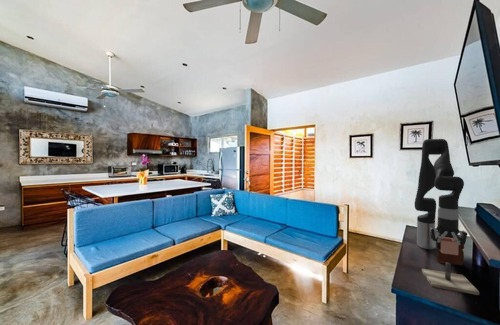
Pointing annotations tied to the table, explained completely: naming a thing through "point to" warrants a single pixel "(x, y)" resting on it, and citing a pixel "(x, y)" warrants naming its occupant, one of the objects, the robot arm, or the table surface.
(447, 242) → the bead
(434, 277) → the peg board
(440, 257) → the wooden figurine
